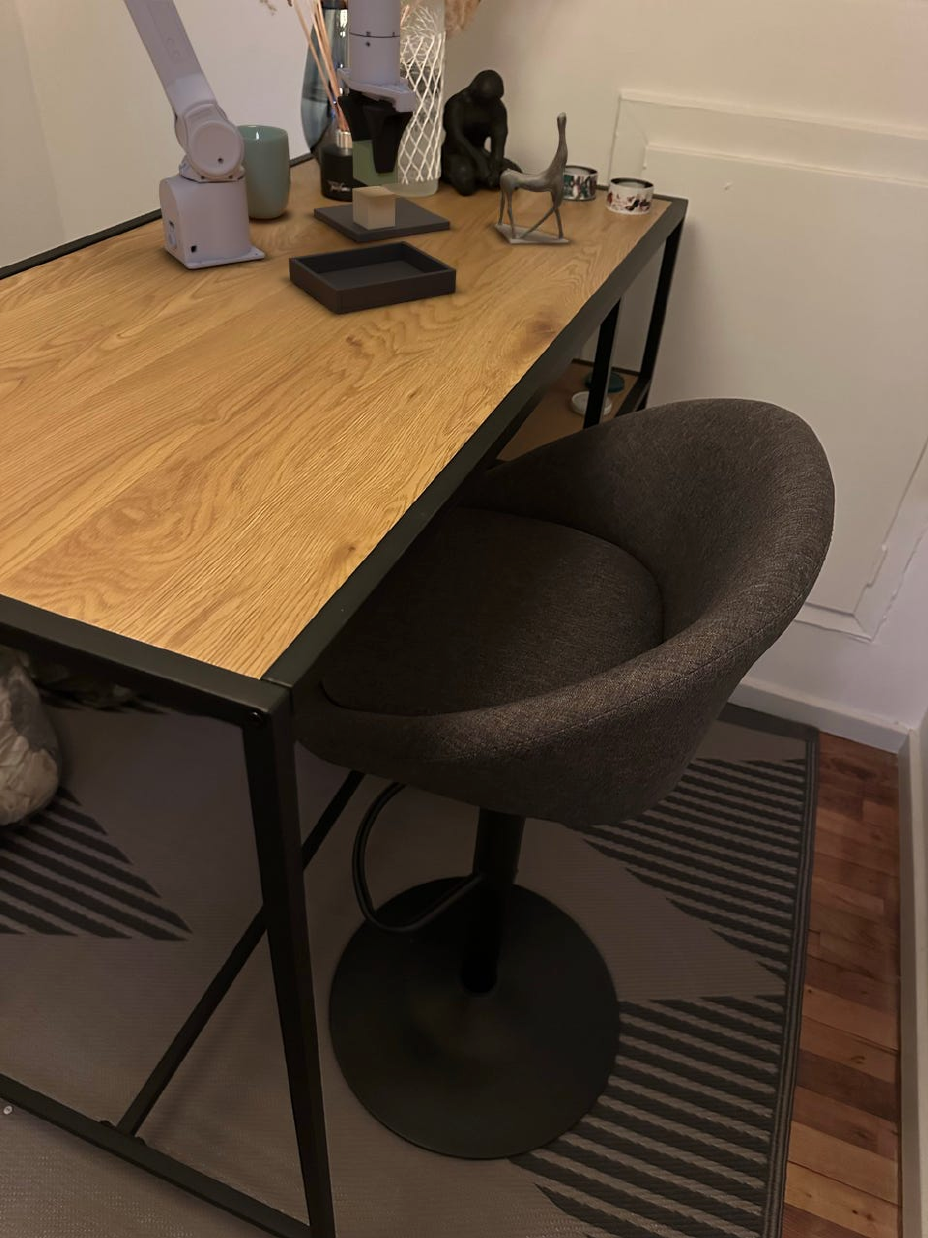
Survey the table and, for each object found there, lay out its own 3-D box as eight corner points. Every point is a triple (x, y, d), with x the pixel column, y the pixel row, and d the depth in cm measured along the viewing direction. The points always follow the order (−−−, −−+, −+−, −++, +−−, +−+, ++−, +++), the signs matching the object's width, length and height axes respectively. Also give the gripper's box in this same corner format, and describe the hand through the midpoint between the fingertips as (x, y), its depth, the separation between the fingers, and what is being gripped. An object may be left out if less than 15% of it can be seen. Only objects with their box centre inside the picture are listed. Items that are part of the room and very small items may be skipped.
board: (358, 242, 114) (357, 234, 113) (313, 216, 121) (313, 208, 121) (450, 228, 121) (450, 221, 120) (402, 204, 128) (402, 197, 127)
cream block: (368, 230, 115) (368, 196, 113) (352, 221, 118) (352, 188, 115) (395, 226, 117) (395, 193, 114) (379, 217, 119) (379, 185, 117)
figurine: (475, 233, 120) (483, 105, 110) (500, 223, 124) (511, 99, 114) (547, 253, 115) (562, 121, 106) (571, 241, 120) (587, 113, 110)
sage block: (369, 186, 107) (368, 148, 104) (352, 177, 109) (352, 141, 107) (398, 182, 109) (398, 146, 106) (381, 174, 111) (381, 138, 109)
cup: (222, 218, 118) (213, 133, 112) (250, 203, 124) (243, 121, 118) (276, 227, 117) (270, 141, 110) (302, 211, 123) (298, 129, 116)
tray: (337, 314, 96) (336, 290, 94) (289, 280, 103) (288, 257, 101) (455, 292, 103) (456, 269, 101) (403, 261, 110) (404, 240, 108)
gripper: (440, 43, 97) (436, 179, 106) (373, 22, 106) (374, 150, 115) (383, 44, 94) (383, 185, 102) (319, 24, 103) (324, 155, 111)
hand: (375, 167), depth 108 cm, fingers closed on sage block, 4 cm apart
